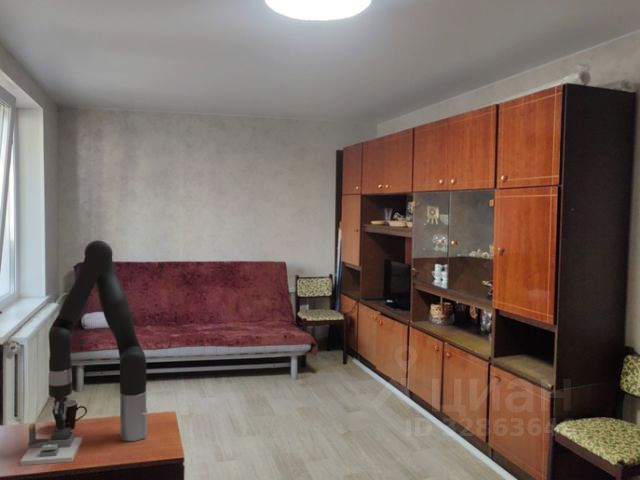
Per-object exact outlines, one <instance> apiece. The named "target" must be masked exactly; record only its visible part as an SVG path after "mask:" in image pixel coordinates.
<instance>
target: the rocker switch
mask: <svg viewBox="0 0 640 480" xmlns="http://www.w3.org/2000/svg"><path fill="white" fill-rule="evenodd" d="M56 448H57V444H53V445H43V446H42V447H41V450H54V449H56Z"/></svg>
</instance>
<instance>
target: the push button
mask: <svg viewBox="0 0 640 480" xmlns="http://www.w3.org/2000/svg"><path fill="white" fill-rule="evenodd" d="M71 432H72V430H71V428H64V429H62V430H58V429H57V428H56V427H55V428H54V430H53V432H52V433H51V435H52V441H53V440H67V439H69V437H70V436H71Z"/></svg>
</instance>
